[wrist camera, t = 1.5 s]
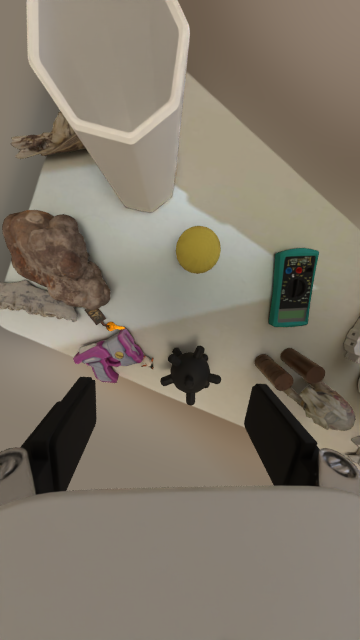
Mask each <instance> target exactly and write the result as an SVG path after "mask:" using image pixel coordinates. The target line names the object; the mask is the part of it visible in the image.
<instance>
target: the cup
mask: <svg viewBox="0 0 360 640" xmlns="http://www.w3.org/2000/svg"><path fill="white" fill-rule="evenodd" d="M26 2H27V48H28V49H27V50H28V61H29V64H30V66H31V67H32V69H33V71H34V72H35V74H36V75H37V76H38V78H39V79H40V81H41V82H42V84H43V85H44V87H45V88H46V90H47V91H48V93H49V94H50V96H51V97H52V99H53V100H54V102H55V103H56V105H57V106H58V108H59V109H60V111H61V112H62V114H63V115H64V117H65V118H66V120H67V121H68V123H69V124H70V126H71V127H72V129H73V130H74V132H75V133H76V134H77V136H78V137H79V139H80V140H81V142H82V143H83V145H84V146H85V148H86V149H87V151H88V152H89V154H90V155H91V157H92V158H93V160H94V161H95V163H96V164H97V166H98V167H99V169H100V170H101V172H102V173H103V175H104V176H105V178H106V179H107V181H108V182H109V184H110V185H111V187H112V188H113V189H114V191H115V192H116V194H117V195H118V197H119V198H120V200H121V201H122V203H123V204H124V206H125V207H127V208H132V209H136V210H140V211H145V212H149V213H151V212H153V211H154V210H156V209H157V208H158V207H160V206H161V205H162V204H164V203H165V202H166V201H167V200H169V199H170V198H171V197H172V193H173V187H174V180H175V174H176V166H177V156H178V146H179V137H180V127H181V117H182V107H183V97H184V87H185V77H186V67H187V56H188V47H189V36H190V29H189V24H188V22H187V20H186V18H185V16H184V13H183V11H182V9H181V7H180V5H179V2H178V0H26Z"/></svg>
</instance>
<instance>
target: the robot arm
mask: <svg viewBox="0 0 360 640" xmlns="http://www.w3.org/2000/svg"><path fill="white" fill-rule="evenodd" d="M358 389H359V392H360V378H359V381H358ZM95 424H96V391H95V380H92V378H91V377H80V378H79V379H78V380H77V382H76V383H75V384H74V385H73V387H72V388H71V389H70V390H69V392H68V393H67V394H66V396H65V397H64V398H63V400H62V401H59V402H57V403H56V404H55V405H54V406H53V407H52V409H51V410H50V411H49V412H48V414H47V415H46V416H45V417H44V419H43V420H42V421H41V423H40V424H39V425H38V426H37V427H36V429H35V430H34V431H33V432H32V434H31V435H30V436H29V437H28V439H27V440H26V441H25V442H24V443H23V445H22V446H21V447H20V448H17V447H15V448H9V449H6V450H4V451H1V452H0V640H360V471H359V470H358V468H357V467H356V466H355V464H353V463H352V462H351V461H350V460H349V459H348V458H347V457H345V456H344V455H342V454H341V453H339V452H337V451H334V450H332V449H328V448H322V449H321V450H320V449H319V448H318V447H317V442H316V441H315V440H314V439H313V437H312V436H311V435H310V434H309V433H308V432H307V430H306V429H305V428H304V427H303V426H302V425H301V424H300V422H299V421H298V420H297V419H296V418H295V417H294V415H293V414H292V413H291V412H290V411H289V410H288V409H287V407H286V406H285V405H284V404H283V403H282V402H281V400H280V399H279V398H278V397H277V396H276V395H275V394H274V392H273V391H272V390H271V389H270V388H269V387H268V385H266V384H256V385H255V386H253V387H252V391H251V395H250V400H249V404H248V408H247V413H246V417H245V421H244V425H245V428H246V430H247V432H248V434H249V436H250V439H251V441H252V443H253V445H254V446H255V449H256V451H257V453H258V455H259V457H260V459H261V460H262V463H263V464H264V467H265V468H266V471H267V473H268V475H269V476H270V478H271V481H272V483H273V485H274V486H219V487H218V486H215V487H214V486H213V487H162V488H124V489H95V490H75V491H74V490H72V491H66V490H67V488H68V485H69V483H70V481H71V478H72V476H73V474H74V472H75V469H76V467H77V465H78V463H79V460H80V458H81V456H82V454H83V452H84V449H85V447H86V445H87V443H88V440H89V438H90V436H91V433H92V431H93V429H94V427H95Z"/></svg>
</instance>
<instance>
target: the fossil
mask: <svg viewBox="0 0 360 640" xmlns="http://www.w3.org/2000/svg"><path fill="white" fill-rule="evenodd" d="M6 308H8V309H9V310H20V309H23V310H27V311H26V312H27V313H28V314H35V315H38V314H40V315H41V316H43V317H46V316H48V317H54V316H56V318H57V319H62V318H64V319H66V320H72V322H75V321H76V320H77V313H76V311H75V308H74V306H69V305H66V304H65V303H64V302H63V301H57V300H55V299H53V298H52V297H51V296H50V295H49V293H48V291H45V290H42V289H39V288H37V287H34V286H32V285H31V284H30V283H29V282H28V281H27V280H24V281H20V282H16V283H0V309H6Z"/></svg>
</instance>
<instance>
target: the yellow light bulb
mask: <svg viewBox="0 0 360 640" xmlns="http://www.w3.org/2000/svg"><path fill="white" fill-rule="evenodd" d="M220 251H221V248H220V242H219V239H218V237H217V235H216V234H215V233H214V232H213V231H212V230H210V229H209V228H207V227H203V226H195V227H191V228H189V229H187V230H186V231H184V233H183V234H182V235H181V236H180V237H179V240H178V242H177V245H176V255H177V259H178V261H179V263H180V265H181V266H182V267H183V268H184V269H185V270H187V271H189V272H191V273H197V274H198V273H204V272H206V271H208V270H210V269H211V268H212V267H213V266H214V265H215V264H216V263H217V261H218V259H219V256H220Z"/></svg>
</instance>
